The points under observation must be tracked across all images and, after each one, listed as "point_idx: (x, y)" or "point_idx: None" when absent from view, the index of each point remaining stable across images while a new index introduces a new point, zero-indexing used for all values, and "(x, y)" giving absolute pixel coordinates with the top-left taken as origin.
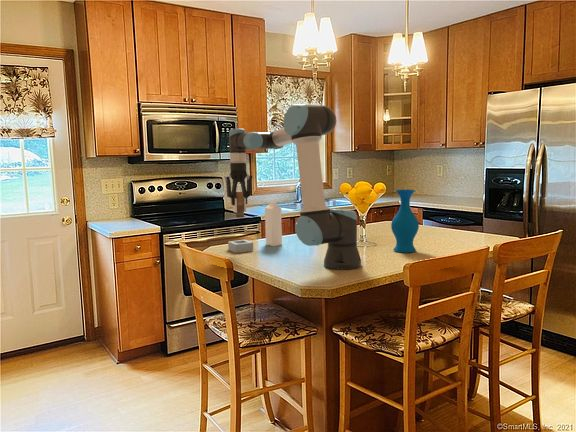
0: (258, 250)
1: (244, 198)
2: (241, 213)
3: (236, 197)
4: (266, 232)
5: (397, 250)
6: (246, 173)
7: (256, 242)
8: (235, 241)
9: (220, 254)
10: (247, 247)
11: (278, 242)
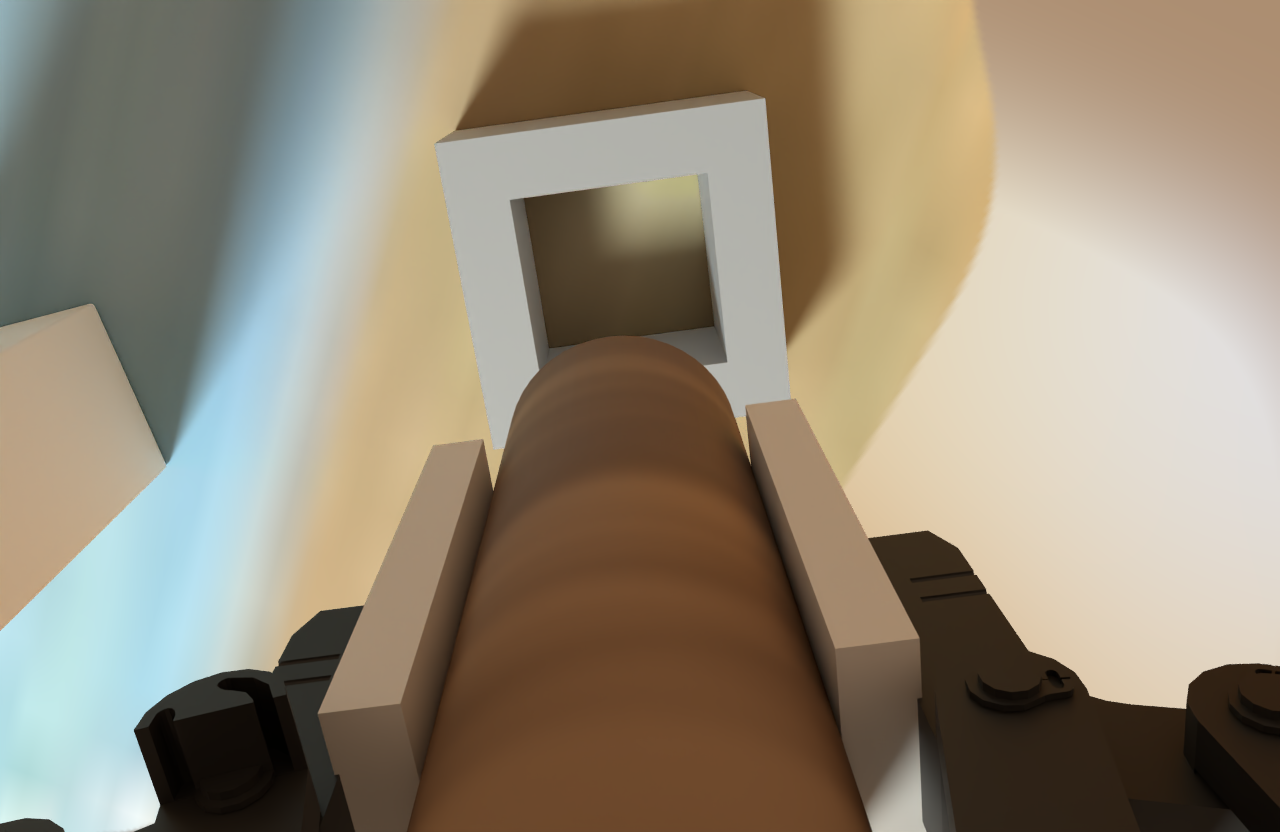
0: (375, 108)
1: (392, 688)
2: (607, 372)
3: (832, 735)
4: (65, 527)
5: None
6: None
7: (265, 666)
8: None
9: (983, 104)
10: (548, 123)
11: None
